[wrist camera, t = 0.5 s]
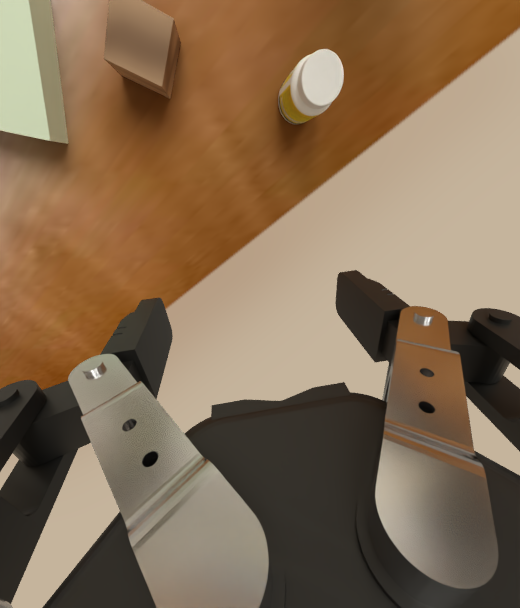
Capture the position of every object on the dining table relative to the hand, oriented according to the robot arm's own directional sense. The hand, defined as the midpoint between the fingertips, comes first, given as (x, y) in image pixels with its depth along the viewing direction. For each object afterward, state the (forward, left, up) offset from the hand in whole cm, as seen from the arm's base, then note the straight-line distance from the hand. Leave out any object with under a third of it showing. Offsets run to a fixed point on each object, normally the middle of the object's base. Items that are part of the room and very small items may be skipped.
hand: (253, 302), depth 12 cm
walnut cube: (-12, -12, -27) cm, 32 cm away
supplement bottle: (-15, +4, -27) cm, 31 cm away
